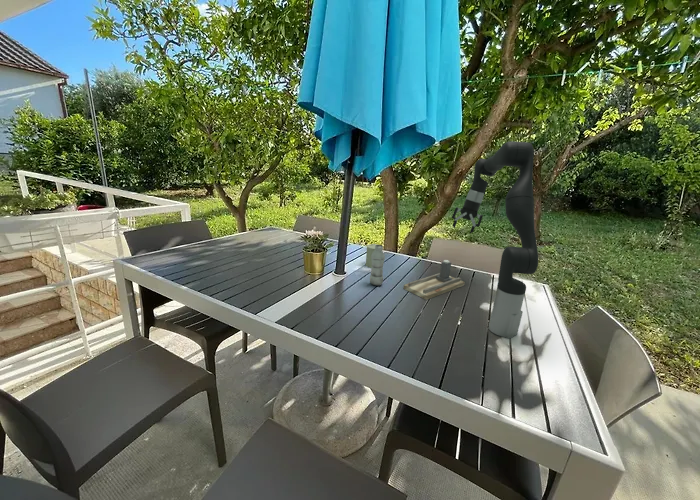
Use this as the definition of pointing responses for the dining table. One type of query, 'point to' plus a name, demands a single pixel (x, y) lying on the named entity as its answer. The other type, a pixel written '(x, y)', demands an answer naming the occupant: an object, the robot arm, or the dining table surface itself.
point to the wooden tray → (432, 286)
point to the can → (369, 254)
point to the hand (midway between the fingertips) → (462, 230)
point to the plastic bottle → (377, 265)
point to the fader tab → (444, 271)
